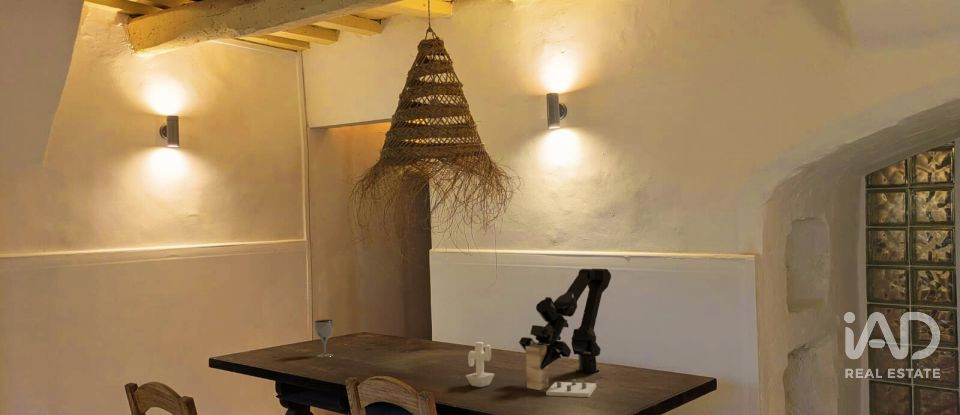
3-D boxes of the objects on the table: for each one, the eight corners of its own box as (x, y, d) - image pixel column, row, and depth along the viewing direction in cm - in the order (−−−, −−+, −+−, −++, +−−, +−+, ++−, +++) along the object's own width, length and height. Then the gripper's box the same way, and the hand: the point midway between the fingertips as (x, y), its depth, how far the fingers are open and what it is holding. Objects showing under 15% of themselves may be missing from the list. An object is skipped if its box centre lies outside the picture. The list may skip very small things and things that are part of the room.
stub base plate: (555, 385, 275) (555, 377, 275) (596, 386, 271) (596, 378, 271) (546, 395, 262) (546, 386, 262) (589, 397, 257) (588, 388, 257)
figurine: (476, 381, 285) (475, 339, 285) (497, 384, 279) (496, 341, 279) (463, 385, 279) (462, 342, 279) (484, 388, 273) (482, 344, 273)
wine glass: (325, 353, 349) (324, 318, 349) (338, 354, 344) (337, 320, 344) (311, 356, 343) (310, 321, 342) (324, 358, 338) (323, 322, 338)
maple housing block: (536, 384, 276) (534, 344, 276) (548, 386, 273) (547, 345, 272) (527, 387, 272) (525, 346, 272) (539, 390, 269) (537, 348, 268)
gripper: (521, 314, 282) (502, 350, 273) (564, 317, 269) (546, 356, 261) (535, 333, 287) (517, 369, 279) (579, 337, 275) (561, 375, 267)
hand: (534, 367), depth 271 cm, fingers closed on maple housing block, 5 cm apart
